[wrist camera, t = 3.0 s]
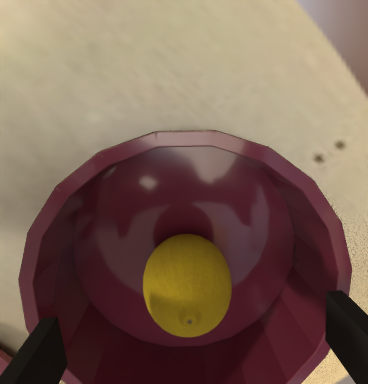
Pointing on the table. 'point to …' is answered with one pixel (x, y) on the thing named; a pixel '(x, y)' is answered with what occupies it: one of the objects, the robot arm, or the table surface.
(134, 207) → the pot
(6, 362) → the lid
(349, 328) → the robot arm
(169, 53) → the table surface
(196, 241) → the lemon
